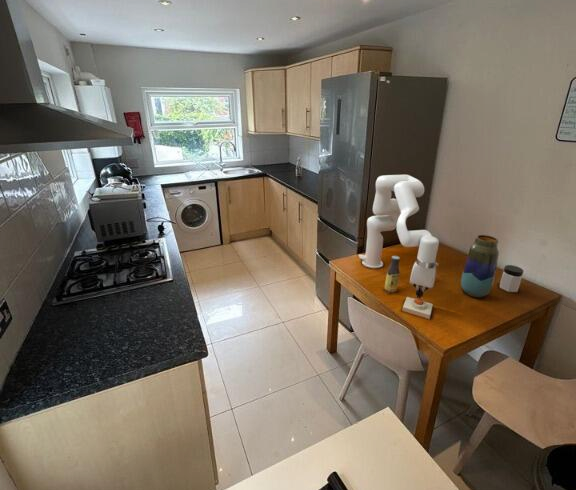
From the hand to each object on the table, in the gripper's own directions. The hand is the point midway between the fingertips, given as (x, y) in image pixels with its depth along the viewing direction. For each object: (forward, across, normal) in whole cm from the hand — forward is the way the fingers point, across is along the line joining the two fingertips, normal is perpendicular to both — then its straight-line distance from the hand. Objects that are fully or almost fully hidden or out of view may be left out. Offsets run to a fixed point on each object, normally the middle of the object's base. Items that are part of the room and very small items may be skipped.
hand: (418, 296), depth 143 cm
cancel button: (+3, 0, 0) cm, 3 cm away
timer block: (+7, 0, 0) cm, 7 cm away
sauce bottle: (+7, +14, -8) cm, 18 cm away
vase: (+7, -23, -30) cm, 38 cm away
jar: (+7, -40, -44) cm, 60 cm away
